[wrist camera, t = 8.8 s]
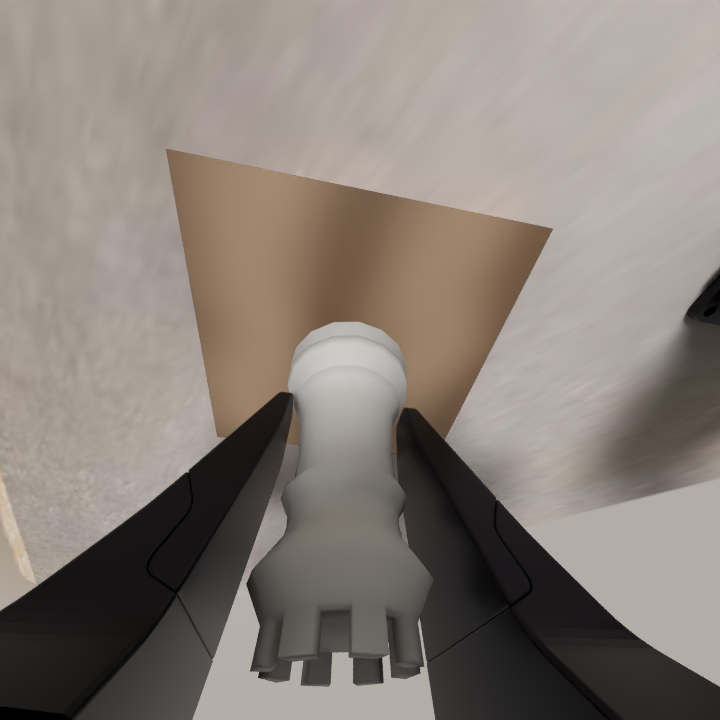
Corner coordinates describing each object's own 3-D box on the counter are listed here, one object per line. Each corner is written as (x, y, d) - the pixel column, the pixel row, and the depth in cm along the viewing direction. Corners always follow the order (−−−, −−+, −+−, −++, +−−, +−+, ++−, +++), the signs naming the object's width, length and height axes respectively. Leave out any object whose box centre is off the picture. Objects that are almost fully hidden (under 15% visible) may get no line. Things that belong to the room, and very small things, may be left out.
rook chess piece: (427, 351, 10) (565, 657, 4) (364, 421, 12) (376, 699, 6) (327, 291, 9) (241, 601, 2) (275, 380, 11) (146, 685, 4)
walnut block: (514, 221, 11) (552, 228, 9) (425, 424, 17) (435, 457, 15) (207, 158, 9) (165, 148, 7) (235, 404, 16) (217, 436, 14)
